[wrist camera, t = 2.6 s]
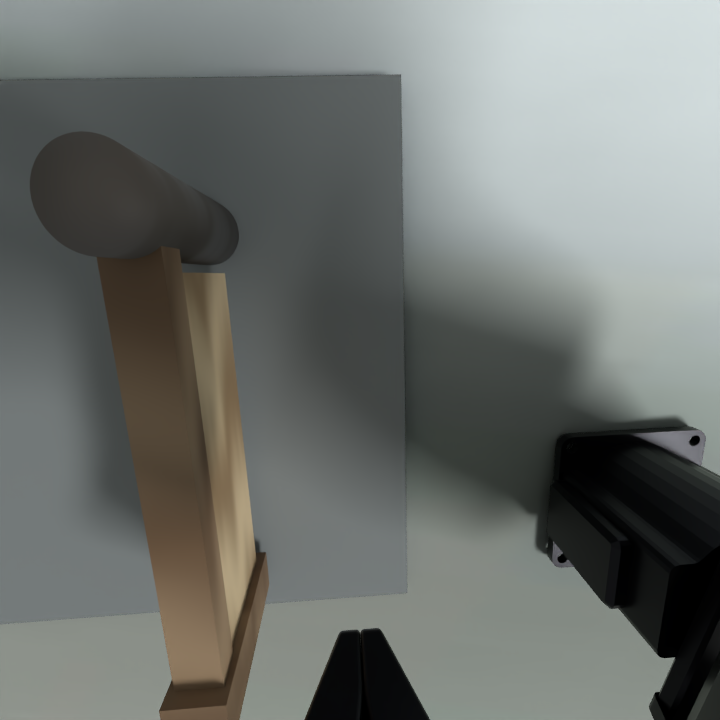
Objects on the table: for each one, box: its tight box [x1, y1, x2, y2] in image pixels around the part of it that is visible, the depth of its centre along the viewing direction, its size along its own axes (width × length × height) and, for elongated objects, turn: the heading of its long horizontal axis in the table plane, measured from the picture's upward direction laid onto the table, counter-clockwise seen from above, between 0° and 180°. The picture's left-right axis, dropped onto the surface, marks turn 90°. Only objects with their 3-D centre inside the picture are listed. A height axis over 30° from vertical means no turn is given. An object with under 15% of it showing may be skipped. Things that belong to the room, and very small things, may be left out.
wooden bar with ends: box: [30, 131, 269, 720], centre depth 12 cm, size 16×2×6 cm, turn 2°
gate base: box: [0, 75, 407, 624], centre depth 12 cm, size 24×21×7 cm
